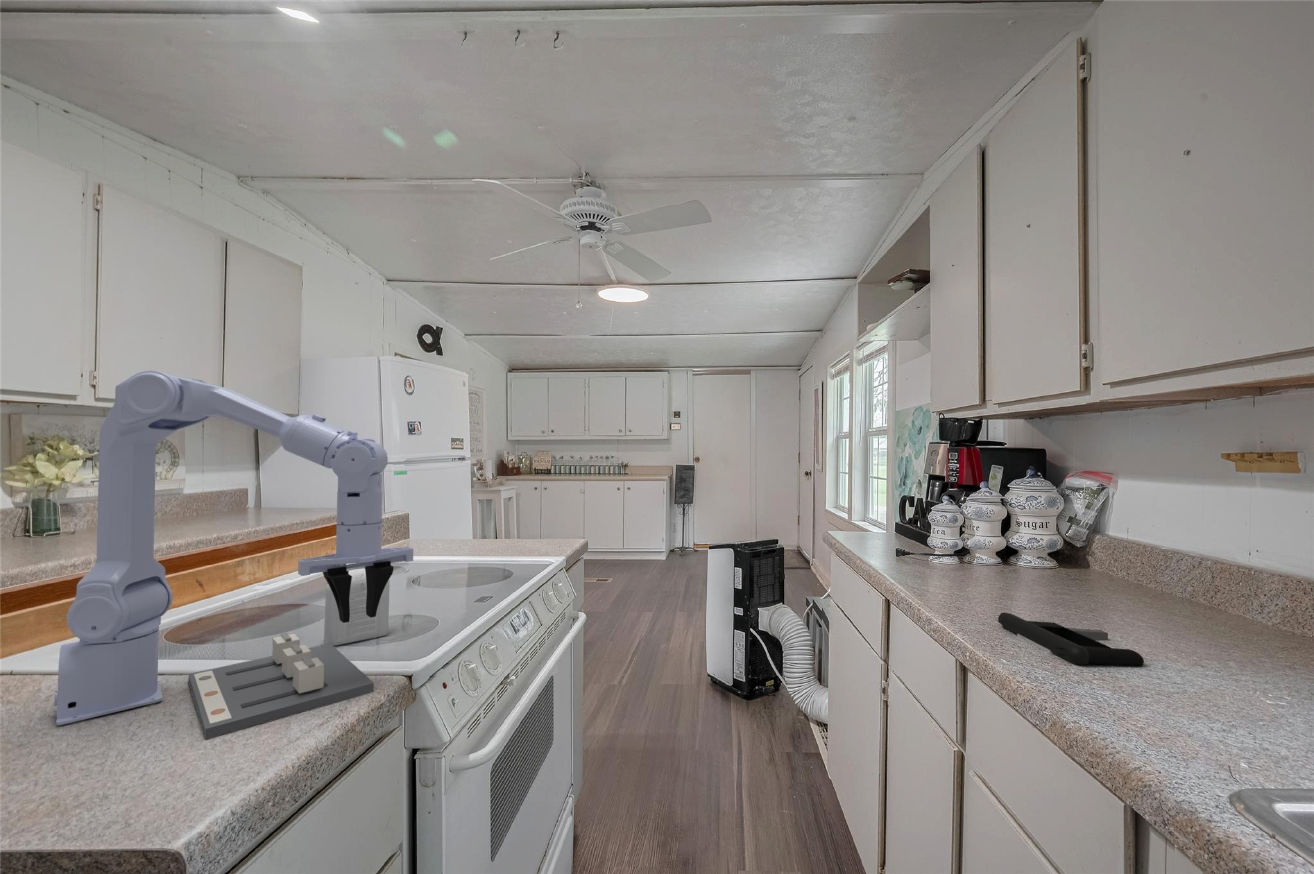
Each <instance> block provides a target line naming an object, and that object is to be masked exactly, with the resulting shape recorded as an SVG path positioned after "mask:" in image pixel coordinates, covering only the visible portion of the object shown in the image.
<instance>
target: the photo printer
mask: <svg viewBox="0 0 1314 874" xmlns="http://www.w3.org/2000/svg"><path fill="white" fill-rule="evenodd" d="M348 571H349V575H351V576H352V580H351V587H350V597H349V605H350V619H349V622H346V623H343V622H342V621H340V619H339V612H338V607H337V604H336V601H335V598H334V595H333V593H332V591H331V588H330V586H329V584H328V582H327V581H326V587H325V603H324V605H325V606H324V631H323V632H324V635H323V636H324V637H323V639H324V640H323V645H325V644H332V645H333V646H334V647H335V646H339V645H344V644H349V643H353V642H358V641H364V640H369V639H374V638H379V637H384V636H385V637H386V636H387V635H388V634H389V612H390V579H389V580H388V582H387V584H386V586H385V588H384V590H383V593H382V595H381V598H380V601H379V605H378V608H377V613H376V617H372V618H371V617H369V616H368V615H366V597H367V583H366V572H365V567H364V568H363V567H362V568H354V569H351V570H350V569H349V570H348Z"/></svg>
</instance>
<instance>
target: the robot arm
mask: <svg viewBox="0 0 1314 874" xmlns="http://www.w3.org/2000/svg"><path fill="white" fill-rule="evenodd" d="M114 393H115V394H114V395H115V396H114V403H113V405H112V406H111V409H109V412H108V414H107V415H106V417H105V419H104V421H103V422H102V424H101V426H100V430H99V439H98V440H99V449H98V487H97V490H98V491H97V521H96V522H97V524H96V525H97V527H96V529H97V530H96V561H95V562H96V563H95V565H94V566H93V567H92V568H91V569H90V570H89V571H88V572H87V573H86V574H85V575H84V576H83V577H82V578H81V579H80V580H79V581H78V583H77V584H76V593H75V597H74V600H73V602H72V604H71V605H70V607H69V608H68V610H67V614H66V623H67V627H68V630H69V631H70V632H71V634H73V636H74V637H76V638H77V639H79V640H78V641H75V642H71V643H65V644H62V645H60V650H59V655H58V658H59V659H58V669H57V671H58V672H57V673H58V674H57V690H55V692H54V697H53V698H54V701H53V704H54V707H56V721H55V725H56V726H63V725H66V724H67V725H68V724H70V723H75V722H80V721H84V720H88V719H91V718H95V717H101V716H105V715H109V714H112V713H113V714H114V713H117V712H121V711H126V710H130V709H134V708H139V707H142V706H148V705H151V704H156V703H159V702H162V701H163V693H162V687H161V686H162V685H161V681H160V680H158V677H159V675H158V673H159V672H158V670H159V642H160V641H159V640H160V625H161V624H162V622H161V621H162V616H164V615H165V614H166V613H167V612H168V611H169V609H170V608H171V605H172V603H173V597H174V596H173V591H172V588H171V587H170V585H169V584H168V581H167V579H166V567H164V565H162V564H161V563H160V562H159V561H158V560H157V559H156V558H155V557H154V551H155V549H154V547H155V546H154V544H155V511H156V510H155V508H156V507H155V501H156V499H155V498H156V497H155V496H156V460H157V458H156V456H157V455H156V454H157V453H156V449H157V445H158V444H159V443H160V442H162V441H163V440H164V439H166V438H168V437H169V436H171V435H172V434H173V433H175V432H176V431H178V430H181V429H184V428H187V427H191V426H193V425H197V424H199V423H203V422H205V421H207V420H209V419H210V418H219V419H220V418H227V419H229V420H232V421H234V422H237V423H240V424H242V425H245V426H248V427H250V428H253V429H255V430H258V431H261V432H263V433H265V434H269V435H271V436H274V437H277V438H278V439H279V441H280V444H281V447H282V448H283V450H285V451H286V452H289V453H290V454H294V455H296V456H298V457H300V458H303V459H305V460H308V461H310V462H312V463H315V464H316V465H319V466H322V467H325V468H327V469H331V470H332V472H333V473H334V474H335V475H336V476H337V493H336V496H337V497H336V536H335V537H336V539H335V541H336V544H335V545H336V546H335V553H333V554H331V553H330V554H326V555H319V556H315V557H314V556H313V557H308V558H302V559H301V558H300V559H297V574H298V575H300V576H301V577H303V576H304V577H306V576H310V575H311V574H320V573H322V575H323V577H324V579H325V581H326V583H327V582H328V584H329V586H330V588H331V591H332V593H333V595H334V598H335V601H336V604H337V607H338V612H339V619H340V621H342V622H343V623H346V622H349V619H350V605H349V597H350V587H351V580H352V576H351V575H349V571H350V569H359V568H363V567H364V568H365V572H366V583H367V597H366V615H368V616H369V617H371V618H372V617H376V613H377V608H378V605H379V601H380V598H381V595H382V593H383V590H384V588H385V586H386V584H387V582H388V580H389V581H390V578H391V576H392V575H393V573H394V566H393V565H392V564H394V563H401V562H405V563H408V562H413V561H414V548H413V547H411V546H406V547H405V546H403V547H391V548H382V540H383V539H382V536H383V535H382V531H383V528H382V526H383V523H382V522H383V471H385V469H386V467H387V465H388V459H389V458H388V453H387V451H386V450H385V448H384V447H383V446H382V445H381V444H379V443H378V442H376V440H374V439H372V438H370V439H369V438H362V439H358V432H357V431H355V430H352V429H349V430H348V431H346V430H344V429H342V428H339V427H337V426H335V425H332V424H330V423H328V422H326V419H327V418H326V417H325V416H322V415H320V414H315V413H314V414H312V415H309V414H301V415H298V416H295V417H291V416H288V415H287V414H284V413H282V412H280V411H278V410H276V409H274V408H272V407H270V406H267V405H265V404H263V403H261V402H259V401H256V400H254V399H252V398H251V397H247V396H246V395H244V394H241V393H239V392H237V391H235V390H232V389H230V388H227V387H224V386H220V385H215V384H211V383H208V382H207V381H204V380H202V379H194V378H185V377H183V376H177V375H171V374H168V373H165V372H163V371H159V370H150V369H149V370H143V371H140V372H137V373H135V374H134V375H132V376H130V377H127V379H125V380H123V381H122V382H121V383H118V384H117V385H116V386H115V391H114ZM348 569H349V570H348Z"/></svg>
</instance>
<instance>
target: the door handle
mask: <svg viewBox="0 0 1314 874" xmlns="http://www.w3.org/2000/svg"><path fill="white" fill-rule="evenodd" d="M997 619H998V620H997V622H998V623H999V625H1001V626H1002V627H1003V628H1004V629H1006V630H1008V631H1010V632H1012V633H1013V634H1015V635H1017V638H1018V639H1021V640H1023V641H1025V642H1027V643H1028V644H1031V645H1032V646H1034V647H1037V648H1039V649H1040V650H1042V651H1043V652H1045V653H1048V654H1050V655H1051V654H1052V655H1056V656H1058V657H1060V658H1062V659H1064V660H1065V661H1068V662H1069V663H1071V664H1074V665H1076V666H1085V665H1087V664H1088V665H1089V664H1090V665H1092V664H1093V665H1103V666H1121V667H1123V666H1124V667H1125V666H1126V667H1142V666H1143V665H1144V664H1145V660H1144V658H1143V656H1142V655H1141V654H1140V653H1139V652H1137V651H1135V650H1133V649H1128V648H1114V647H1111V646H1109V645H1106V644H1104V643H1102V642H1099V641H1108V640H1109V633H1108V632H1106V631H1104V630H1101V629H1087V628H1075V627H1074V628H1073V627H1065V626H1063V625H1061V624H1058V623H1056V622H1052V621H1051V622H1049V621H1048V622H1047V621H1037V620H1036V621H1034V620H1025V619H1023V618H1022V617H1019V616H1017V615H1015V614H1012V613H1008V612H1001V613H1000V614H999V615H998V618H997Z"/></svg>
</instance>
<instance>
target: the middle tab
mask: <svg viewBox="0 0 1314 874" xmlns="http://www.w3.org/2000/svg"><path fill="white" fill-rule="evenodd" d="M308 648H309V647H308V646H307V645H306V644H301V645H299V646H298V645H297V644H294V645H291V648H288V649H283V650H282V671H283V673H284V674H285V675H286V677H287V678H289V677H293V663H295V662H299V661H302V658H304V657H309V658H310V659H311V651H310V650H309V649H308Z"/></svg>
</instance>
